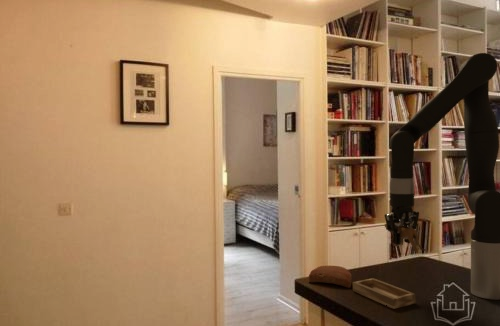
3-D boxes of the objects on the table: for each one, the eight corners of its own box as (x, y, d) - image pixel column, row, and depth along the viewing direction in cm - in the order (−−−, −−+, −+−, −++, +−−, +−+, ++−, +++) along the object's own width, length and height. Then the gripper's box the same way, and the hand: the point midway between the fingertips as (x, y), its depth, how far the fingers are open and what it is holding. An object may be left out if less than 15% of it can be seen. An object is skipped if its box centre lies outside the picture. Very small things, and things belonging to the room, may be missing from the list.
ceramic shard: (359, 262, 142) (350, 280, 128) (357, 278, 143) (348, 298, 130) (320, 253, 148) (308, 269, 135) (318, 268, 149) (306, 286, 136)
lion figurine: (382, 244, 132) (382, 217, 132) (393, 242, 135) (392, 216, 135) (419, 253, 119) (419, 224, 119) (430, 251, 122) (430, 222, 122)
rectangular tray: (373, 286, 131) (373, 278, 131) (415, 303, 116) (415, 293, 116) (352, 290, 127) (352, 282, 127) (393, 308, 112) (393, 299, 112)
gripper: (395, 194, 121) (395, 248, 122) (426, 191, 128) (426, 243, 128) (377, 192, 128) (377, 243, 128) (407, 189, 135) (408, 238, 135)
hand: (402, 243), depth 128 cm, fingers closed on lion figurine, 4 cm apart
